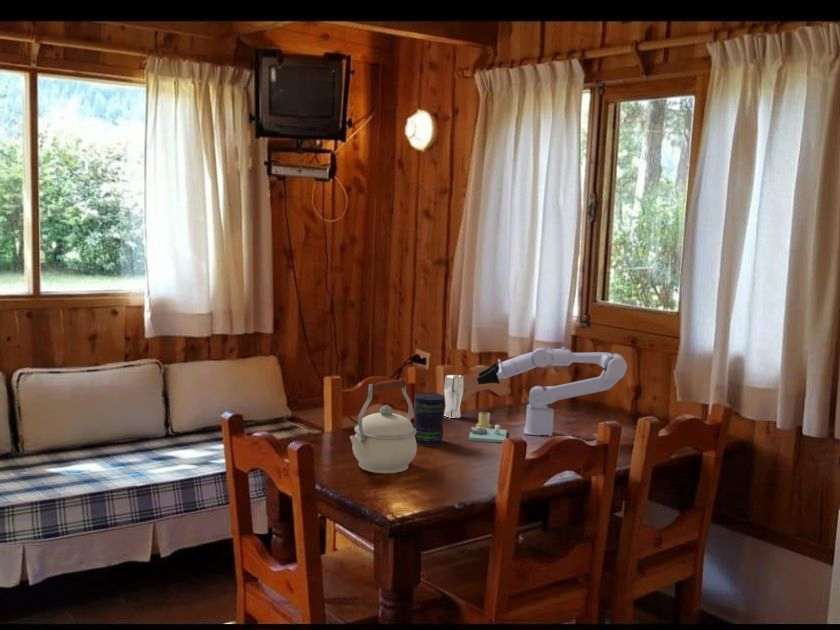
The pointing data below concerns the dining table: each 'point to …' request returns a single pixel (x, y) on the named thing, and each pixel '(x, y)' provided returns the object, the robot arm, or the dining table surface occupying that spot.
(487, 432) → the carrier plate
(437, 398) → the storage jar
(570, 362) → the robot arm
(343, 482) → the dining table surface
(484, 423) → the planet gear
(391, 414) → the kettle
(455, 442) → the dining table surface
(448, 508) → the dining table surface
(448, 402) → the beer glass
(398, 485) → the dining table surface
